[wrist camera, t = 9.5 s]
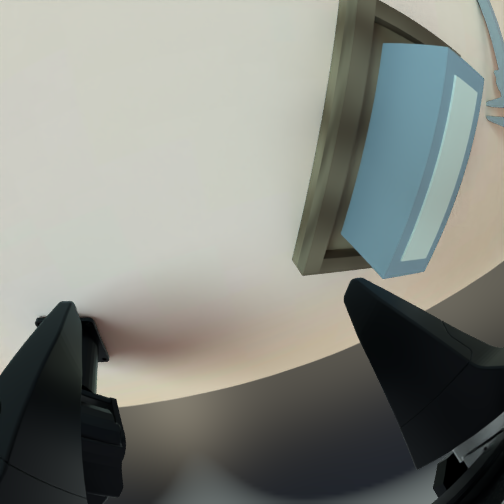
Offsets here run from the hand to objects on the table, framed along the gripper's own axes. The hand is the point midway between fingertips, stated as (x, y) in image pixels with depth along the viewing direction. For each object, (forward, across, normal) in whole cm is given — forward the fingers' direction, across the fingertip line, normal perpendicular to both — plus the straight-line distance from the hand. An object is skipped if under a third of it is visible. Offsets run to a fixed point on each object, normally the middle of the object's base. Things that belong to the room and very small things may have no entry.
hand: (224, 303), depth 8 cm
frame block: (+10, -15, -4) cm, 18 cm away
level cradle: (+11, -15, -4) cm, 19 cm away
